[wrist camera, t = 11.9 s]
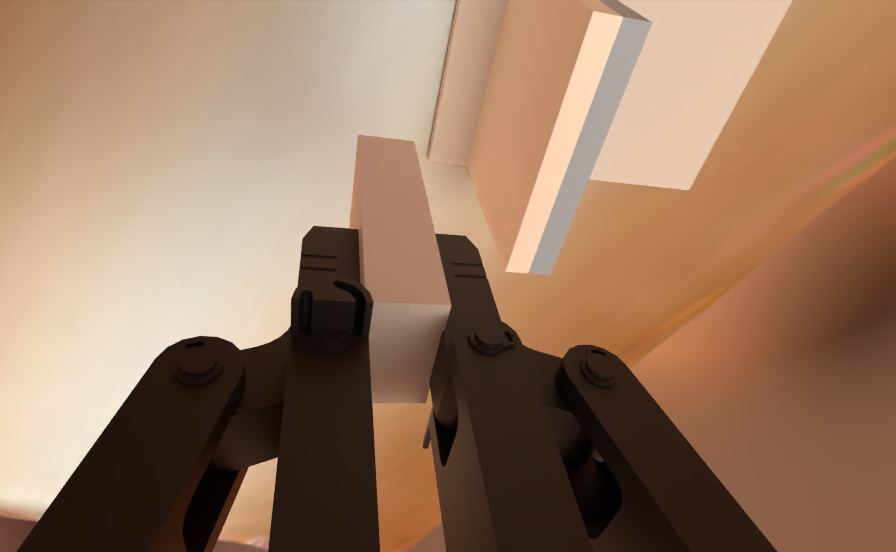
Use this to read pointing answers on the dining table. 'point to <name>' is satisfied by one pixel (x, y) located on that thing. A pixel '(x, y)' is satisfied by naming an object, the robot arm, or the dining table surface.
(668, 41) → the mat
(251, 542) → the dining table surface
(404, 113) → the dining table surface
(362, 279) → the robot arm
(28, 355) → the dining table surface
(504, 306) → the dining table surface
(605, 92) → the tile
